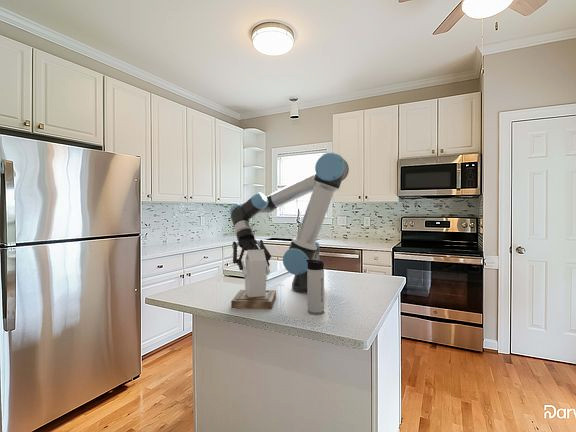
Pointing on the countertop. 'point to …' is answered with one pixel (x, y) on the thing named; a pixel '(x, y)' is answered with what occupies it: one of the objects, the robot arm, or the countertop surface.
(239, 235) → the robot arm
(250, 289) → the milk carton
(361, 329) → the countertop surface
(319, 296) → the travel mug
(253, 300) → the plinth
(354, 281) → the countertop surface
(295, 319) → the countertop surface
